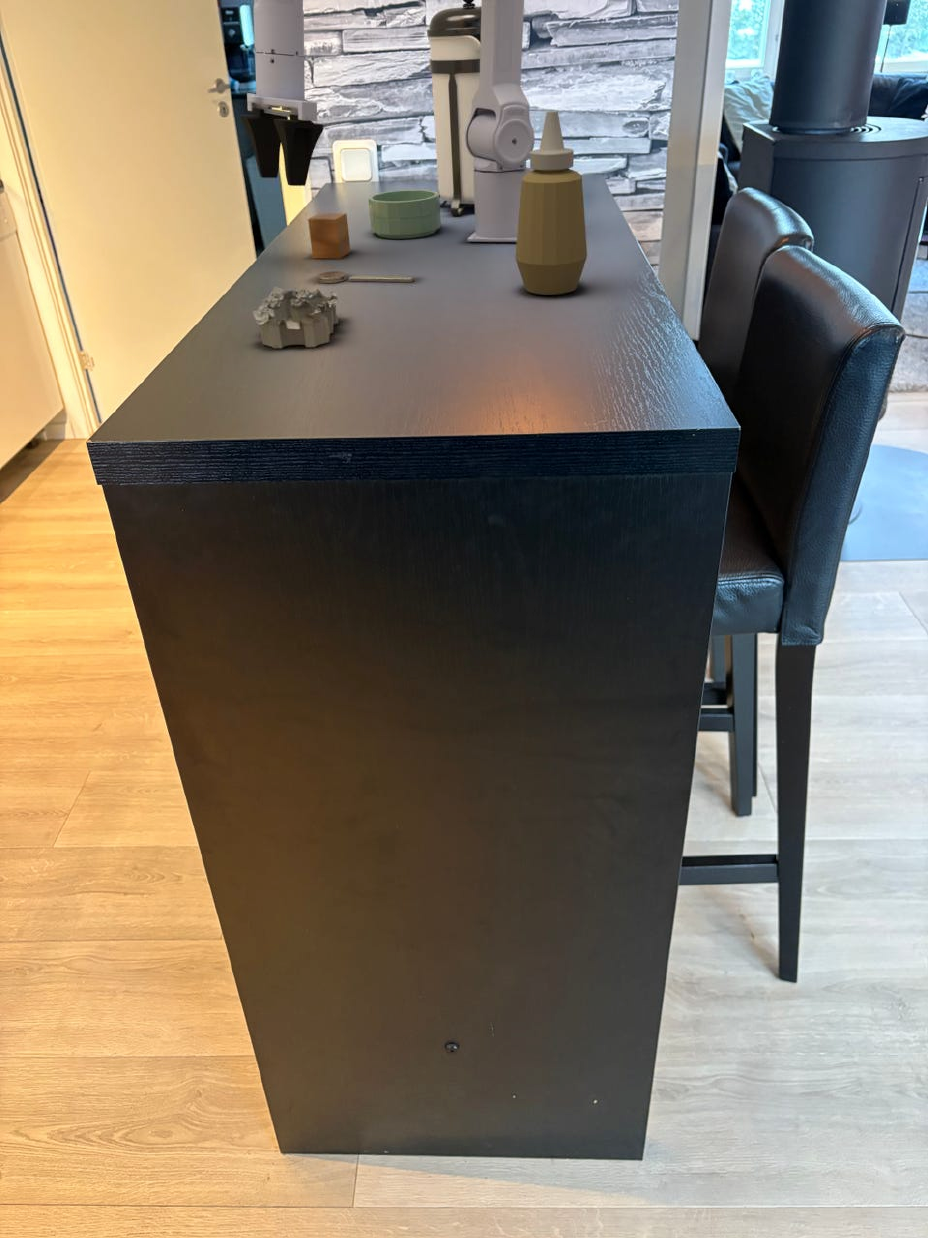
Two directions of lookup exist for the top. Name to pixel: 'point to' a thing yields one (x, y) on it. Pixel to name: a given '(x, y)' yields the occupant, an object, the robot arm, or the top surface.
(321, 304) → the grey succulent planter
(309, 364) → the top surface
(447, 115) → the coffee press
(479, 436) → the top surface
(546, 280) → the squeeze bottle
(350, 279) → the spoon
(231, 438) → the top surface
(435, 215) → the bowl
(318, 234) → the block
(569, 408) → the top surface
